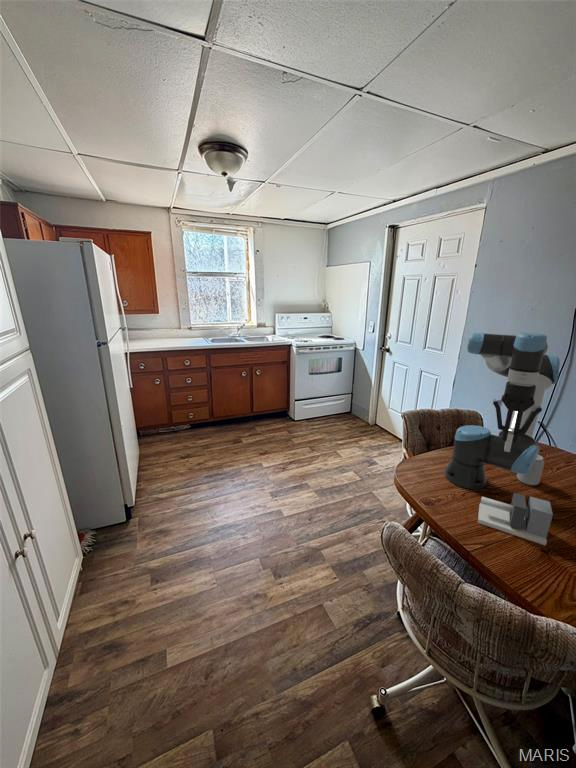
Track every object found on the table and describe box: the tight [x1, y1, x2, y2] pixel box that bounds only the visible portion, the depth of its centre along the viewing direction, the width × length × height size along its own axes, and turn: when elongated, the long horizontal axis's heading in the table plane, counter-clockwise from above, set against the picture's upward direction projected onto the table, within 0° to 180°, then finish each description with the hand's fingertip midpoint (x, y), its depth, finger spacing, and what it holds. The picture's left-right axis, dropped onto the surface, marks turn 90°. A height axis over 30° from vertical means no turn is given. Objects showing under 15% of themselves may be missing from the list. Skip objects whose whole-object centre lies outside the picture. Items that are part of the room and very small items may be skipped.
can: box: [516, 454, 545, 486], centre depth 124 cm, size 8×8×12 cm
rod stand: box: [477, 496, 554, 547], centre depth 101 cm, size 18×10×10 cm, turn 56°
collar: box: [509, 492, 527, 530], centre depth 100 cm, size 3×8×8 cm, turn 146°
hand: (507, 449), depth 101 cm, fingers closed
